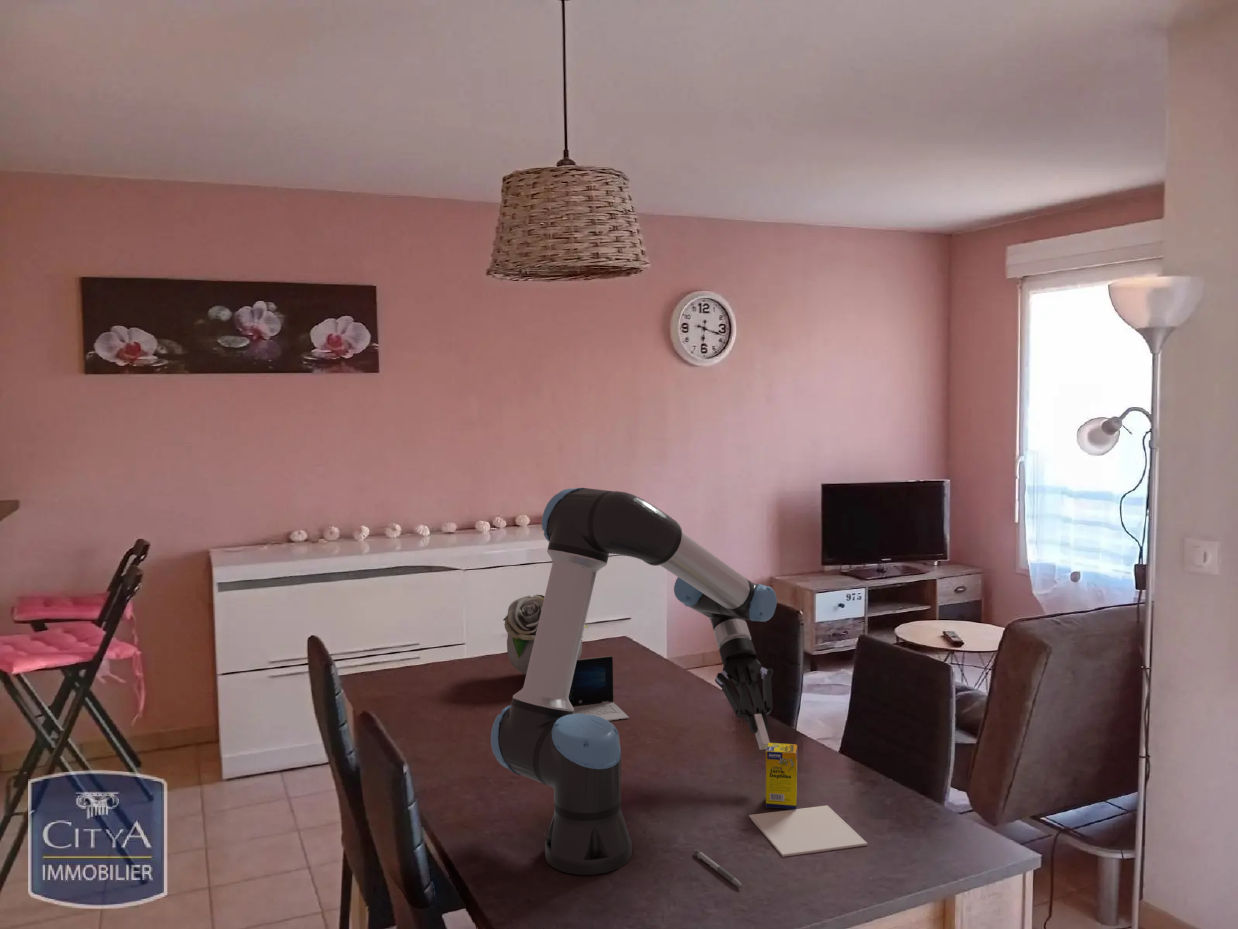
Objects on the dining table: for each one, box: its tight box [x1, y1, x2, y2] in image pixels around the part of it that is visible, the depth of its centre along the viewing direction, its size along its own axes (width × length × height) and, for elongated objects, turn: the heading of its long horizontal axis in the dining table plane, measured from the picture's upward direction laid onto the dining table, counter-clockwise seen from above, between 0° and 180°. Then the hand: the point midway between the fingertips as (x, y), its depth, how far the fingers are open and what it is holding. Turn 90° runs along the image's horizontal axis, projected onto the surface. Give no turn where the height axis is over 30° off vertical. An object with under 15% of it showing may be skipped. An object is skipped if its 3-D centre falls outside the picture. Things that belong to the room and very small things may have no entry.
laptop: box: [568, 655, 630, 722], centre depth 239 cm, size 18×12×13 cm
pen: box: [693, 849, 743, 888], centre depth 160 cm, size 1×14×1 cm, turn 28°
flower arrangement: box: [502, 594, 589, 675], centre depth 268 cm, size 25×25×24 cm
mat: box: [748, 805, 868, 858], centre depth 175 cm, size 16×16×1 cm
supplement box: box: [765, 742, 798, 810], centre depth 186 cm, size 6×6×11 cm
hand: (764, 746), depth 194 cm, fingers closed
